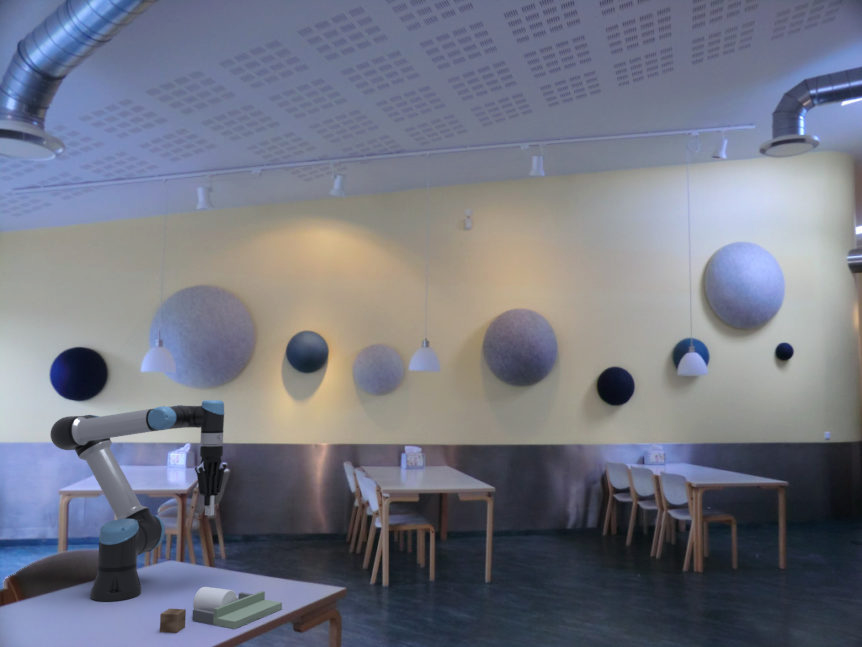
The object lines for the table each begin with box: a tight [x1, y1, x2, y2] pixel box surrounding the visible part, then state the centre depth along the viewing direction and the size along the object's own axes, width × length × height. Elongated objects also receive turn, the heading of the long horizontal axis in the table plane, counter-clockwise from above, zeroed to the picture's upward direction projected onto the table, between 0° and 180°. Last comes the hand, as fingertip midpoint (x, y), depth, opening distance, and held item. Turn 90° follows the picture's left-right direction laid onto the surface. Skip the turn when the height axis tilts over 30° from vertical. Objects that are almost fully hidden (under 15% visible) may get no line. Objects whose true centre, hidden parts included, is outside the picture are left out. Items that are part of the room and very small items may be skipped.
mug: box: [192, 586, 239, 612], centre depth 217 cm, size 12×10×8 cm
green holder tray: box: [192, 590, 283, 630], centre depth 217 cm, size 16×21×4 cm
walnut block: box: [159, 608, 187, 634], centre depth 203 cm, size 5×5×5 cm
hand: (209, 514), depth 247 cm, fingers closed
